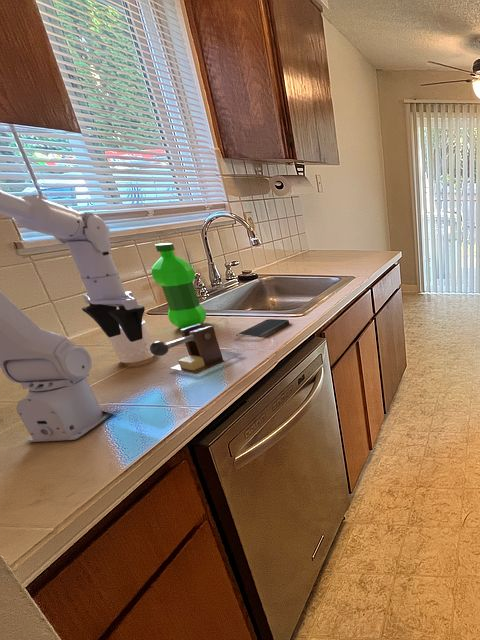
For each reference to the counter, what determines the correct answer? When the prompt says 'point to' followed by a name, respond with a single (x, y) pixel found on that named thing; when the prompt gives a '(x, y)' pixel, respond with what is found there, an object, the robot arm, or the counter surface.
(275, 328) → the phone
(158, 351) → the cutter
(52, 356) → the robot arm
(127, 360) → the white cup
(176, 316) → the plastic bottle
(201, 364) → the butter
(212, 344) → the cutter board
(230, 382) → the counter surface
